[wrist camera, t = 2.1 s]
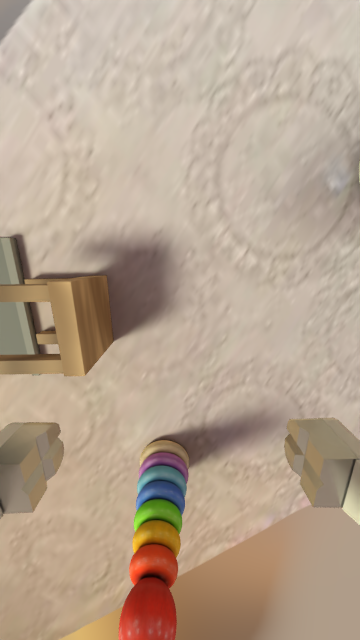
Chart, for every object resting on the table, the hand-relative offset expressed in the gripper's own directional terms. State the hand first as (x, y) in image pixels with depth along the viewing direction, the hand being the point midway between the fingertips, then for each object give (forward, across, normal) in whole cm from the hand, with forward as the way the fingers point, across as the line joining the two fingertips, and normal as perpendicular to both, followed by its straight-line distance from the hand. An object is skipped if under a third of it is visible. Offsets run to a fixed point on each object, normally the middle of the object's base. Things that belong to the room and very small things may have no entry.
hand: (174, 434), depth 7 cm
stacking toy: (+21, +2, +25) cm, 33 cm away
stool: (+21, +14, 0) cm, 25 cm away
